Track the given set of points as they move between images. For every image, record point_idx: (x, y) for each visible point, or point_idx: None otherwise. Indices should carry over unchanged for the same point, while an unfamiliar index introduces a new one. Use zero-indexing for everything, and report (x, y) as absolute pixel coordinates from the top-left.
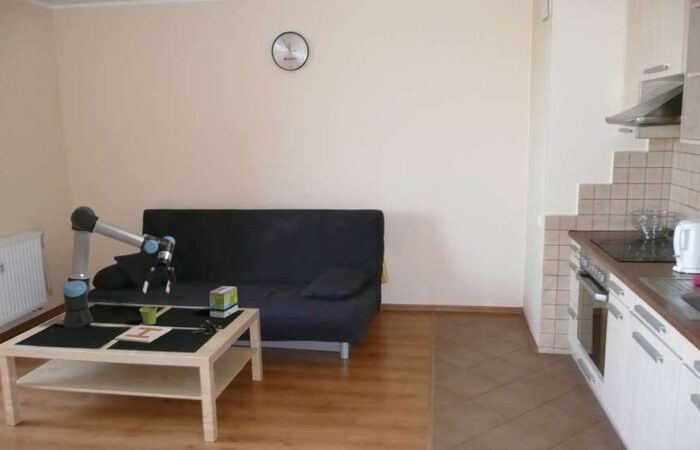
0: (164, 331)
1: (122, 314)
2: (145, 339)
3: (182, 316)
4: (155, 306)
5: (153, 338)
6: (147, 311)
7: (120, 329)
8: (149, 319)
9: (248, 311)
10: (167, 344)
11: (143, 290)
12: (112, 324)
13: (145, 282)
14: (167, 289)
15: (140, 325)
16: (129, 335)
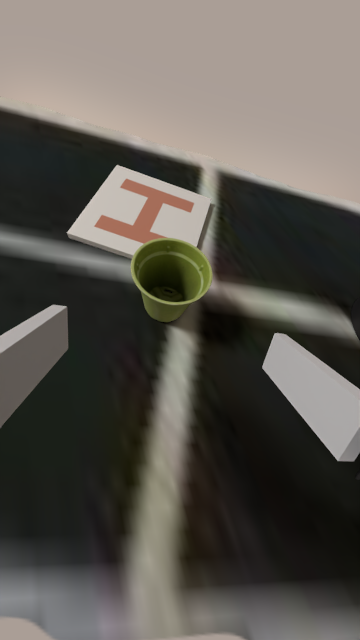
0: (86, 209)
1: None
2: (128, 173)
3: None
4: (148, 295)
5: (109, 176)
6: (164, 238)
7: (235, 266)
8: (158, 272)
9: None
10: (65, 152)
11: (281, 335)
12: (285, 312)
13: (357, 392)
14: (44, 312)
15: None
16: (181, 204)
